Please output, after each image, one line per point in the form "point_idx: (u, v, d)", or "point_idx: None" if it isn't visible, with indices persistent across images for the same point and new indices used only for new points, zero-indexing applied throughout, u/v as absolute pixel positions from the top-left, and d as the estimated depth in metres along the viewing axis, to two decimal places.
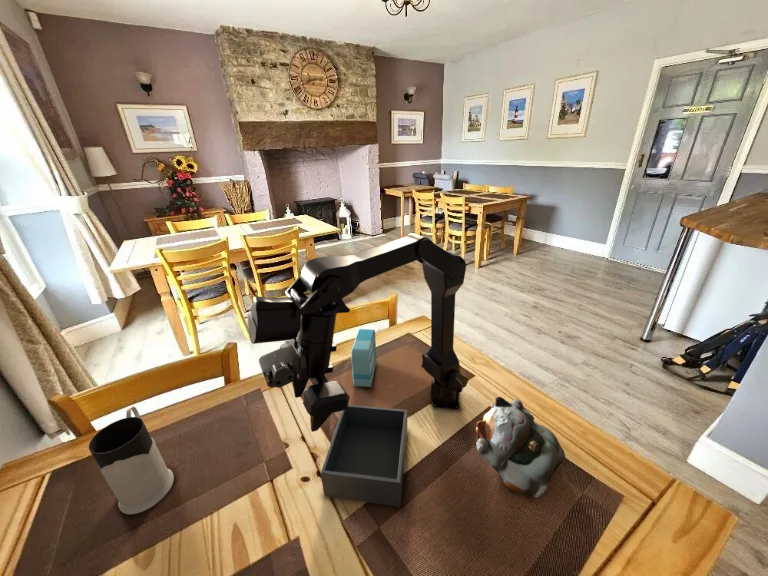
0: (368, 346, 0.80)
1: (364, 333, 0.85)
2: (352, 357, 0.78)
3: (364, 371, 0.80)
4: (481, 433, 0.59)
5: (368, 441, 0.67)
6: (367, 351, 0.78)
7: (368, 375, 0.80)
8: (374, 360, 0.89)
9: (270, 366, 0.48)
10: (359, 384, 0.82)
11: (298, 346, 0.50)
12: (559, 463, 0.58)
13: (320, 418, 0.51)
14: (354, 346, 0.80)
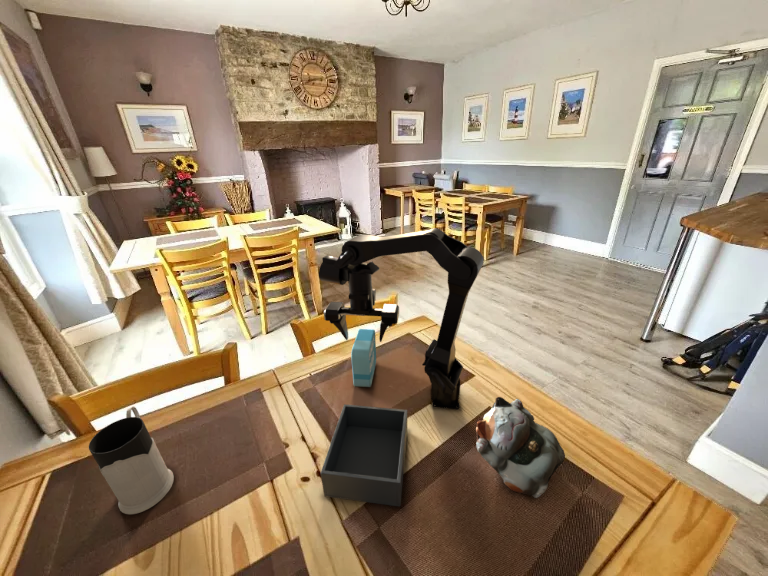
0: (368, 346, 0.80)
1: (364, 333, 0.85)
2: (352, 357, 0.78)
3: (364, 371, 0.80)
4: (481, 433, 0.59)
5: (368, 441, 0.67)
6: (367, 351, 0.78)
7: (368, 375, 0.80)
8: (374, 360, 0.89)
9: None
10: (359, 384, 0.82)
11: None
12: (559, 463, 0.58)
13: None
14: (354, 346, 0.80)
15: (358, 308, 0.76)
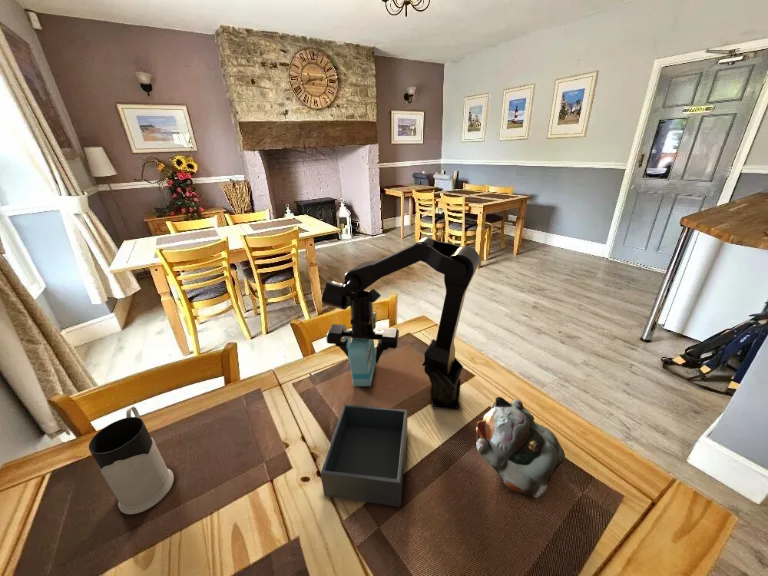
0: (365, 345, 0.80)
1: None
2: (349, 357, 0.79)
3: (362, 371, 0.80)
4: (481, 433, 0.59)
5: (368, 441, 0.67)
6: (364, 350, 0.78)
7: (367, 374, 0.80)
8: (373, 359, 0.89)
9: None
10: (359, 384, 0.82)
11: None
12: (559, 463, 0.58)
13: None
14: (351, 346, 0.80)
15: (359, 332, 0.79)
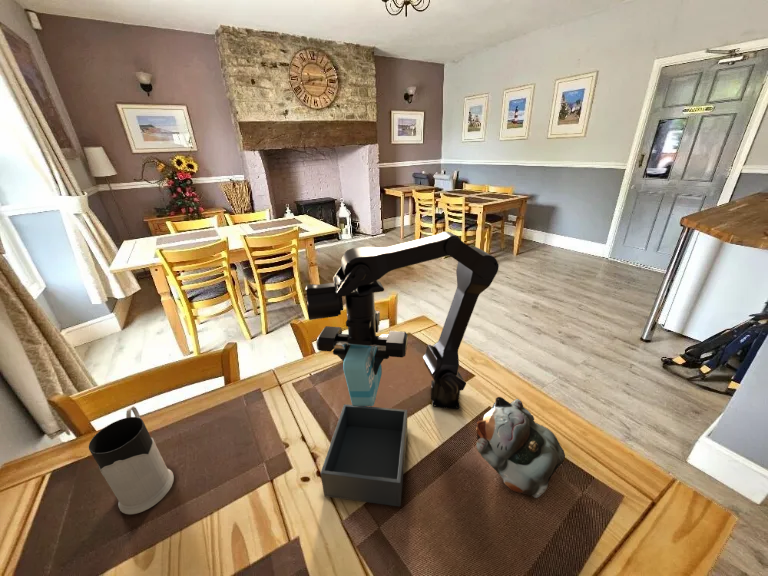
0: (364, 355, 0.63)
1: None
2: (345, 370, 0.62)
3: (362, 387, 0.63)
4: (481, 433, 0.59)
5: (368, 441, 0.67)
6: (362, 362, 0.61)
7: (368, 392, 0.63)
8: (378, 371, 0.72)
9: None
10: (358, 403, 0.65)
11: None
12: (559, 463, 0.58)
13: None
14: (347, 356, 0.63)
15: (357, 337, 0.62)
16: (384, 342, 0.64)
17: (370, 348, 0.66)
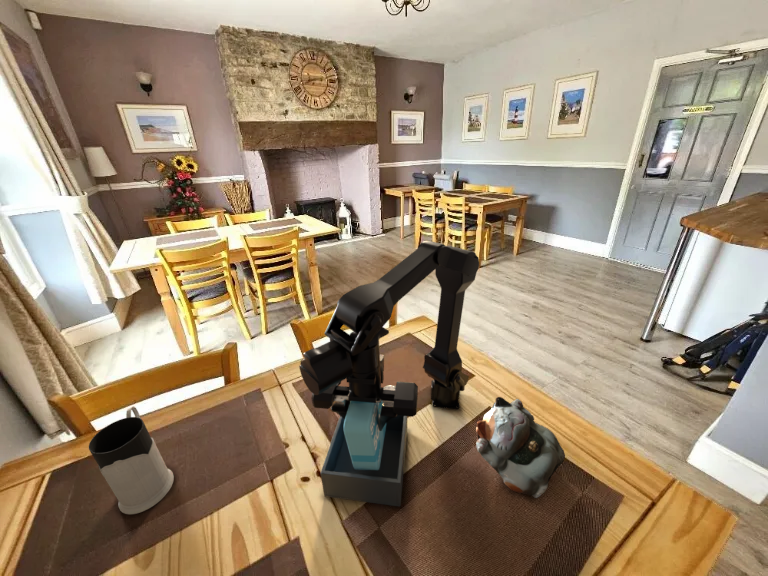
0: (368, 414, 0.54)
1: None
2: (345, 433, 0.53)
3: (366, 452, 0.54)
4: (481, 433, 0.59)
5: None
6: (367, 423, 0.52)
7: (373, 456, 0.54)
8: None
9: None
10: (362, 468, 0.56)
11: None
12: (559, 463, 0.58)
13: None
14: (348, 415, 0.54)
15: (360, 393, 0.53)
16: (391, 397, 0.55)
17: None
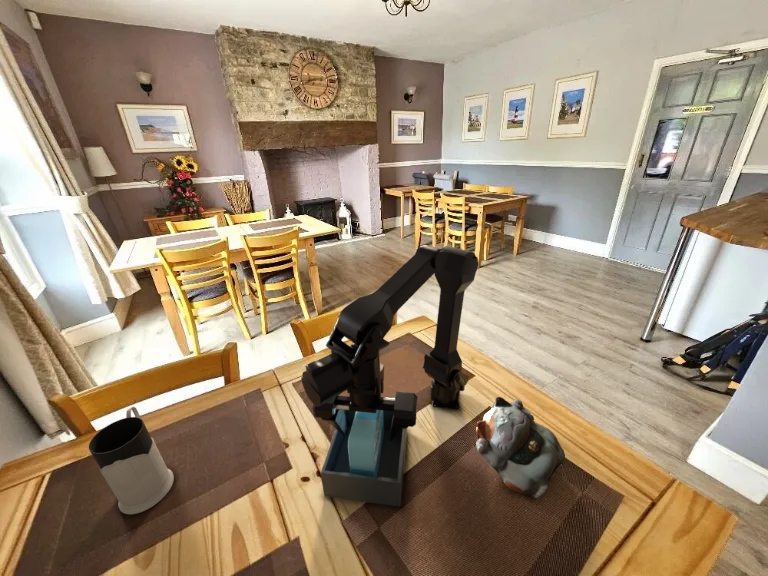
0: (373, 431, 0.55)
1: None
2: (349, 448, 0.54)
3: (366, 467, 0.56)
4: (481, 433, 0.59)
5: None
6: (371, 440, 0.54)
7: (372, 472, 0.56)
8: (381, 439, 0.64)
9: None
10: None
11: None
12: (559, 463, 0.58)
13: None
14: (353, 430, 0.56)
15: (361, 404, 0.54)
16: None
17: (378, 419, 0.59)
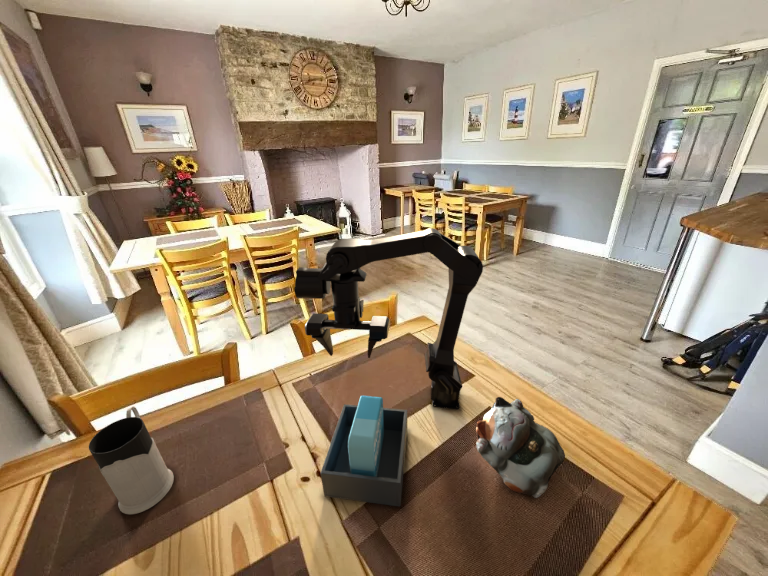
0: (373, 431, 0.55)
1: (367, 405, 0.61)
2: (349, 448, 0.54)
3: (366, 467, 0.56)
4: (481, 433, 0.59)
5: None
6: (371, 440, 0.54)
7: (372, 472, 0.56)
8: (381, 439, 0.64)
9: None
10: None
11: None
12: (559, 463, 0.58)
13: None
14: (353, 430, 0.56)
15: (343, 321, 0.67)
16: None
17: (378, 419, 0.59)
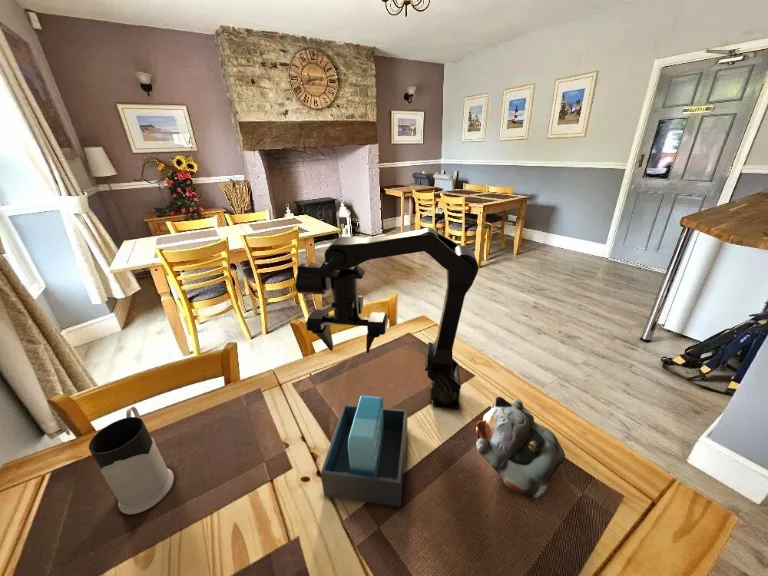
0: (373, 431, 0.55)
1: (367, 405, 0.61)
2: (349, 448, 0.54)
3: (366, 467, 0.56)
4: (481, 433, 0.59)
5: None
6: (371, 440, 0.54)
7: (372, 472, 0.56)
8: (381, 439, 0.64)
9: None
10: None
11: None
12: (559, 463, 0.58)
13: None
14: (353, 430, 0.56)
15: (342, 317, 0.69)
16: None
17: (378, 419, 0.59)
